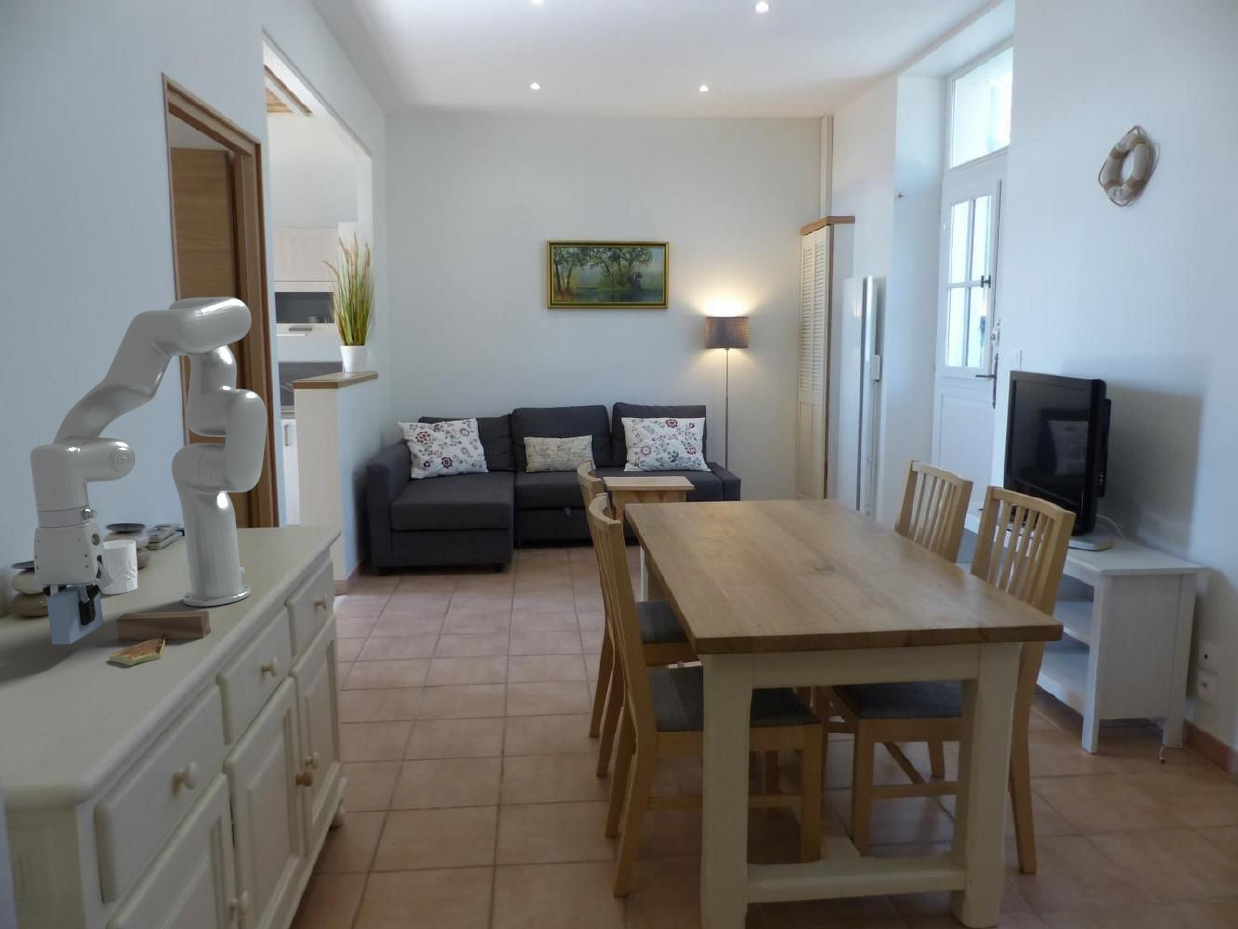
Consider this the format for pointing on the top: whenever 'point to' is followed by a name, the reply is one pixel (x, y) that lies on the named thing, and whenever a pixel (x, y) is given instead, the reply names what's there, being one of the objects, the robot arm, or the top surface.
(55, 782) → the top surface
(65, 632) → the block
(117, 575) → the white cup
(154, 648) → the shard
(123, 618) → the bar
